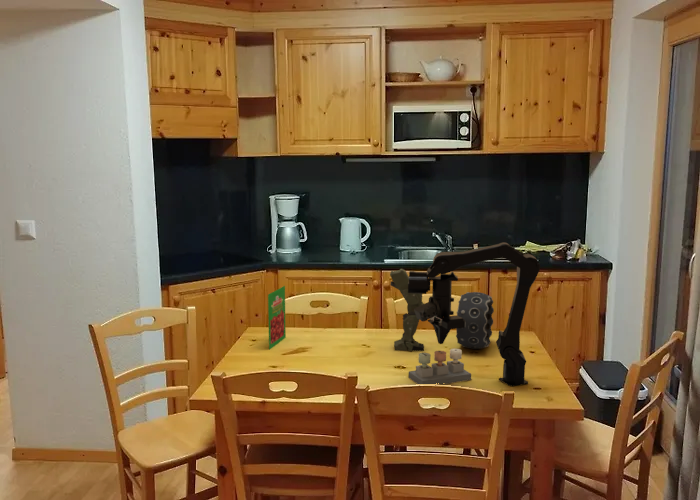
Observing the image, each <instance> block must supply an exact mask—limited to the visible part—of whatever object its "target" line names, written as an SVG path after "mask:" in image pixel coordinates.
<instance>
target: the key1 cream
mask: <svg viewBox="0 0 700 500" xmlns="http://www.w3.org/2000/svg"><path fill="white" fill-rule="evenodd" d="M462 353H463V351H462V349H460V348H450V349H449V359H450V360H452V361H453V364H458V361H459V360H461V359H462V355H463V354H462Z"/></svg>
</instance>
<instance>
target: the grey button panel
mask: <svg viewBox="0 0 700 500" xmlns="http://www.w3.org/2000/svg"><path fill="white" fill-rule="evenodd" d="M408 378H409V379H410V380H411V381H413V382H414V383H415V384H417V385H418V384H436V383H437V384H438V383H439V384H442V385H447V384H452V383H453V384H454V383H460V382H465V381H466V382H467V381H472V373H471V372H470V371H467V370H466V369H465V363H463V362H461V361H460V360H458V364H453V360H446V363H445V362H442V366H438V362H433V363H431V366H430V365H429V364H427V368H424V369H423V368H422V364H420V365H415V370H410V371H408ZM443 383H445V384H443Z"/></svg>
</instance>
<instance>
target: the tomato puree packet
mask: <svg viewBox="0 0 700 500" xmlns="http://www.w3.org/2000/svg"><path fill="white" fill-rule="evenodd" d="M267 304H268V306H267V308H268V309H267V313H268V350H271V349H273V348H274V347H276V345H279V344H280V342H282V341H283V340H285V339H286V338H287V337H286V336H287V335H286V286H285V285H283V286H282V287H280V288H278V289H276V290H274V291H273V292H270V293H269V294H267Z"/></svg>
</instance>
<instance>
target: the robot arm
mask: <svg viewBox="0 0 700 500" xmlns="http://www.w3.org/2000/svg"><path fill="white" fill-rule="evenodd" d="M500 258H501V259H502V258H504V259H505V260H507V261H508V262H509V263H512V264H513V265H515V266H516V284H515V291H514V293H513V297H512V302H511V307H510V310H509V315H508V319H507V323H506V327H505V328H504V330H503V331H502V330H500V329H499V330H498V338H497V339H496V341H495V343H496V346H497V349H498V352H499V356H500V357H501V359H503V367H502V368H503V369H502V371H503V372H502V377H498V380H499V381H500V382H502V383H504V384H506V385H508V386H509V387H517V386H518V387H519V386H523V385H529V381H528V380H526V379H525V376H526V375H525V373H526V364H527V359H526V358H525V355H524V353H523V351H522V350H521V349H520V345H521V343H520V341H521V340H520V339H521V338H520V337H521V335H520V333H521V332H520V331H521V328H522V324H523V320H524V317H525V316H524V315H525V311H526V307H527V304H528V303H527V302H528V298H529V296H530V295H529V294H530V290H531V287H532V286H533V284H534V282H535V281H536V279H537V277H538V276H539V272H540V270H541V264H540V262H539V260H538V259H537V258H536V256H534V255H532V254H531V253H525V254H524V253H523V252H521V251H520V250H518V249H516V248H515V247H512V246H511V245H510V244H509V243H507V242H506V241H505V242H500V243H497V244H493V245H488V246H483V247H480V248H479V247H478V248H474V249H469V250H465V251H440V252H438V253H436V254H435V255H434V256H433V259H432V261H433V262H432V264H431V265H430V266H429V267H428V268H427V270H426V271H415V270H410V271H409V273H408V276H409V282H408V293H413V294H422V295H427V293H429V291H430V292H431V281H432V295H431V296H429V298H428V302H425V303H424V304H423V305H421V306H419V307H417V308H415V309H414V311H415V314H416V317H417V319H419V321H421V322H429V323H430V324H431V325H432V326H433V330H434V332H435V335H436V339H437V342H438V344H439V345H443V344H444V343H445V340H446V338H447V337H448V335H449V333H450V331H451V330H456V329H458V328H465V324H466V321H465V320H464V319H463V318H461V317H459V316H457V315H454V314H455V313H454V312H455V311H454V310H452V303H453V302H455V298H454V297H452V287H453V286H452V285H453V284H452V282H454V281H455V282H457V281H459V279H458V278H459V277H458V275H456V274H455V273H454V271H456V270H458V269H460V268H462V267H464V266H467V265H472V264H477V263H481V262H486V261H487V262H488V261H491V260H496V259H500Z"/></svg>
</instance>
